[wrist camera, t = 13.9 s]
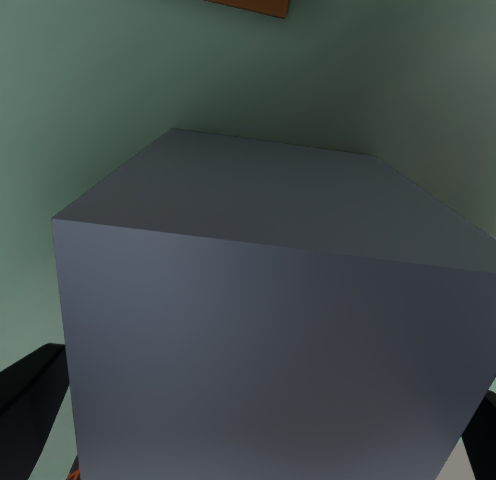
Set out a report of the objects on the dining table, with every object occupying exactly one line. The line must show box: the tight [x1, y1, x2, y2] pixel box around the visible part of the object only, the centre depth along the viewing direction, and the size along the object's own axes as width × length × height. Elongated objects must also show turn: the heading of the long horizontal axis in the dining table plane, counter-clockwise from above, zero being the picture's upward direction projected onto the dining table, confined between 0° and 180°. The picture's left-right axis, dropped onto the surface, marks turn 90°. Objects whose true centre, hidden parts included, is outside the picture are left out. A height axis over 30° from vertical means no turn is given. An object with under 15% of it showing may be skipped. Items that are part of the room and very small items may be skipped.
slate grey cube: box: [51, 128, 496, 480], centre depth 11 cm, size 8×8×9 cm
